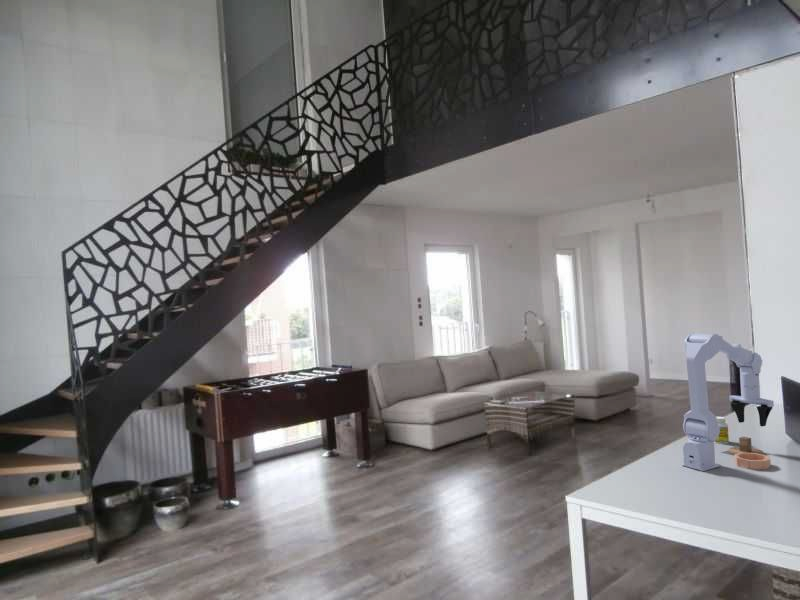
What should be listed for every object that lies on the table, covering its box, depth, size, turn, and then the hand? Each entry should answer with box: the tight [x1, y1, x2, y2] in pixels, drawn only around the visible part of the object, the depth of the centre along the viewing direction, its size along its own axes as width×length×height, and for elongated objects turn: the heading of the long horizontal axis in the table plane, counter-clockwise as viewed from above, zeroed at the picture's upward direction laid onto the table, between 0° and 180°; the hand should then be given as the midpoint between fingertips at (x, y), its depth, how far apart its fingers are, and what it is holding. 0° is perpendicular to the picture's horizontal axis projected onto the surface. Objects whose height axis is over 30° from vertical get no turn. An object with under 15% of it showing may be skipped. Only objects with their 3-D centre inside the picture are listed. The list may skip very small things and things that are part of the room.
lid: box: [727, 436, 765, 456], centre depth 197 cm, size 11×11×5 cm
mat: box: [720, 450, 771, 456], centre depth 197 cm, size 11×11×1 cm
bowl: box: [733, 453, 772, 471], centre depth 184 cm, size 10×10×3 cm
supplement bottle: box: [714, 416, 730, 445], centre depth 213 cm, size 5×5×10 cm
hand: (752, 424), depth 199 cm, fingers open, 7 cm apart
